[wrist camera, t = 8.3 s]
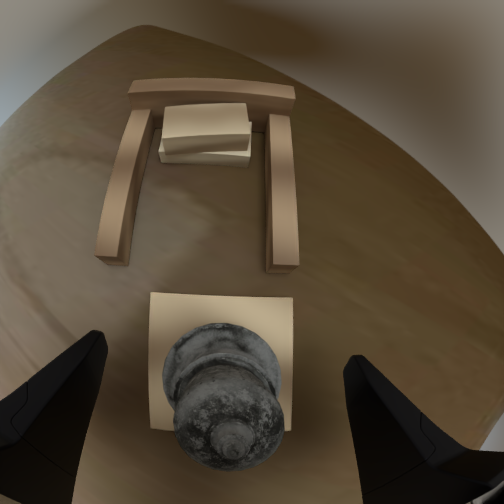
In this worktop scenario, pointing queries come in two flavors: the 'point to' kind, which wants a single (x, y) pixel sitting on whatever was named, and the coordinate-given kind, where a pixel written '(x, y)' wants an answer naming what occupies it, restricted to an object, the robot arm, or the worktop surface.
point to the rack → (152, 116)
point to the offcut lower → (210, 157)
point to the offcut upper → (205, 128)
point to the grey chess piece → (224, 396)
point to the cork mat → (216, 311)
